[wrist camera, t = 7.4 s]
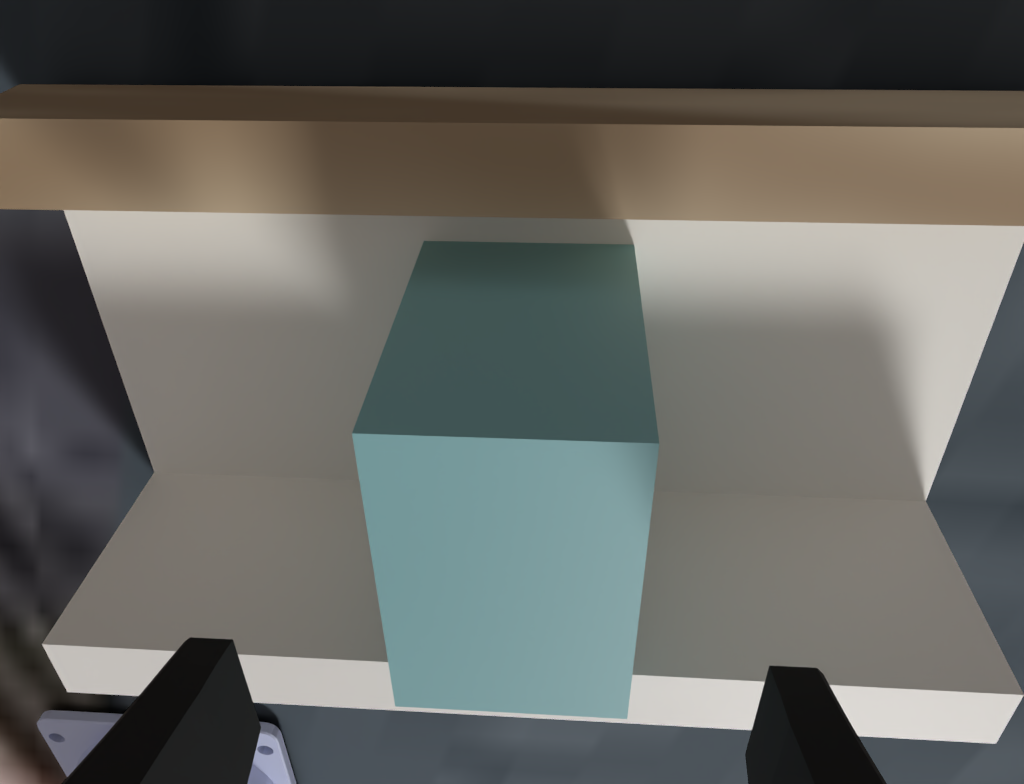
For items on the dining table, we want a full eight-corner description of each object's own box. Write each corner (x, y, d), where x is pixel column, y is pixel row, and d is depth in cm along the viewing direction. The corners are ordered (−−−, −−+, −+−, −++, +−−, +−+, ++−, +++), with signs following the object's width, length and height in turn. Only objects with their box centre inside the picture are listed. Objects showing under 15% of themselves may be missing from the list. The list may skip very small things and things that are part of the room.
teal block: (615, 484, 19) (626, 719, 14) (443, 478, 19) (395, 706, 14) (634, 244, 15) (659, 443, 10) (423, 241, 16) (352, 433, 11)
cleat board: (894, 544, 20) (987, 758, 15) (184, 515, 21) (75, 706, 17) (1062, 81, 14) (1303, 211, 9) (38, 75, 15) (-202, 189, 10)
